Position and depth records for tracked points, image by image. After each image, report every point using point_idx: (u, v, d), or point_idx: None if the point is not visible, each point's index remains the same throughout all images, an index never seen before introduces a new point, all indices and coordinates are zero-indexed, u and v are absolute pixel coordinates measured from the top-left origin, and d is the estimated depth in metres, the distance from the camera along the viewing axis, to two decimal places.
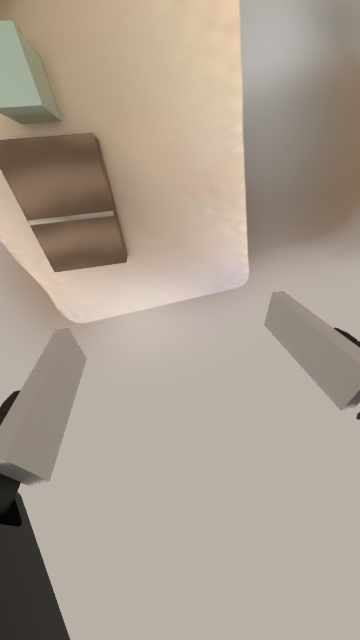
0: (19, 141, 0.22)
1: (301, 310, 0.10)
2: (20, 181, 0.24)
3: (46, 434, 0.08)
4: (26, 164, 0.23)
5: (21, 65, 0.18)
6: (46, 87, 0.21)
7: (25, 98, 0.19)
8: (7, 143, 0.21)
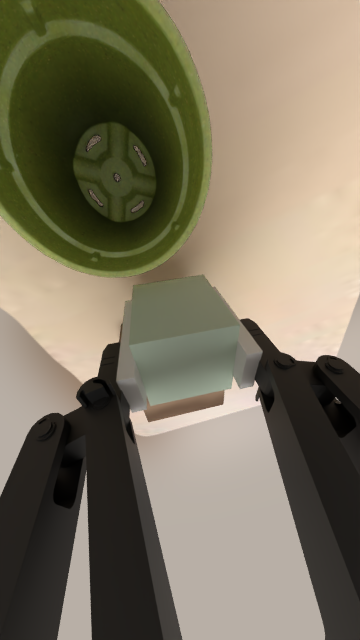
0: None
1: None
2: None
3: None
4: None
5: (224, 362, 0.10)
6: None
7: (209, 388, 0.11)
8: None
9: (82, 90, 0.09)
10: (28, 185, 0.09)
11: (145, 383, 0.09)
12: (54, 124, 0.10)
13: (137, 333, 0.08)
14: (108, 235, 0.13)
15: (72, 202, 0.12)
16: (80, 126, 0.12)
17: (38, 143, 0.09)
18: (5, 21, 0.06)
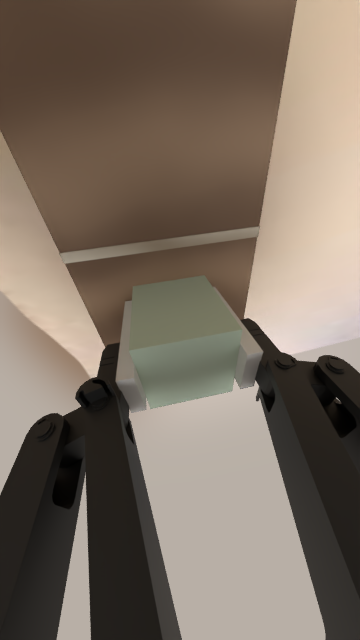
0: None
1: None
2: (47, 144, 0.08)
3: None
4: (69, 84, 0.07)
5: (225, 366, 0.09)
6: None
7: (210, 391, 0.11)
8: None
9: None
10: None
11: (145, 387, 0.09)
12: None
13: (137, 337, 0.08)
14: None
15: None
16: None
17: None
18: None
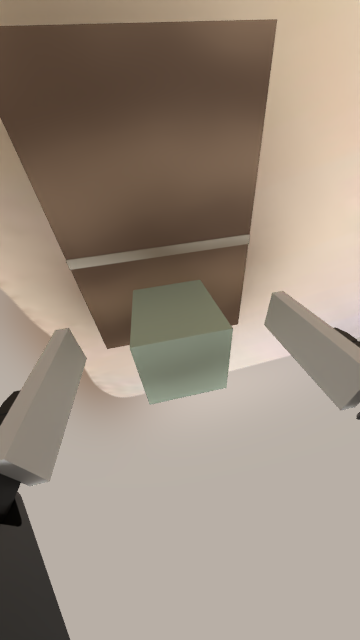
0: (65, 35, 0.07)
1: (301, 310, 0.10)
2: (58, 165, 0.09)
3: (46, 434, 0.08)
4: (78, 115, 0.08)
5: (218, 363, 0.10)
6: None
7: (205, 387, 0.11)
8: (28, 41, 0.07)
9: None
10: None
11: (145, 383, 0.10)
12: None
13: (137, 336, 0.09)
14: None
15: None
16: None
17: None
18: None
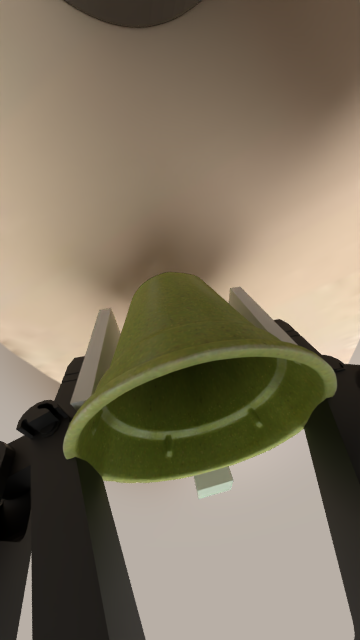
0: None
1: (250, 303, 0.11)
2: None
3: None
4: None
5: (227, 486, 0.26)
6: None
7: (221, 491, 0.27)
8: None
9: None
10: (111, 409, 0.08)
11: (199, 495, 0.26)
12: (129, 315, 0.09)
13: (198, 483, 0.25)
14: (168, 386, 0.12)
15: None
16: None
17: None
18: (135, 362, 0.05)
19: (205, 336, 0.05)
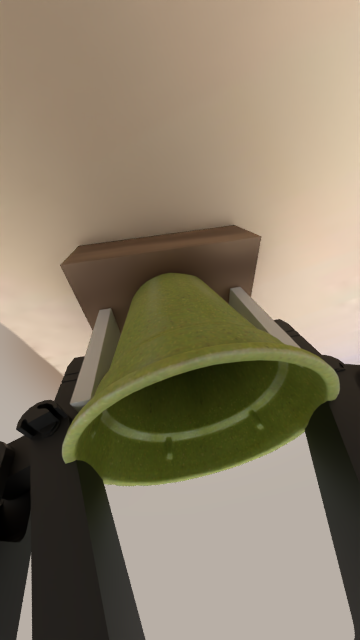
0: (124, 260, 0.11)
1: (250, 303, 0.11)
2: None
3: None
4: (127, 291, 0.12)
5: None
6: None
7: None
8: (100, 265, 0.11)
9: None
10: (111, 412, 0.08)
11: None
12: (129, 316, 0.09)
13: None
14: (168, 388, 0.12)
15: None
16: None
17: None
18: (135, 365, 0.05)
19: (207, 339, 0.05)
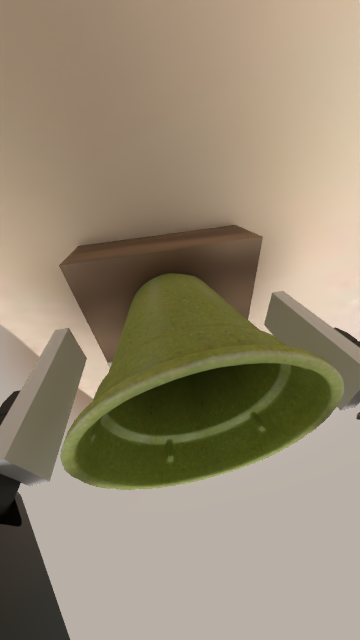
0: (124, 260, 0.11)
1: (301, 310, 0.10)
2: (109, 316, 0.13)
3: (46, 434, 0.08)
4: (127, 292, 0.12)
5: None
6: None
7: None
8: (100, 265, 0.10)
9: None
10: (111, 414, 0.08)
11: None
12: (129, 317, 0.09)
13: None
14: (169, 389, 0.12)
15: None
16: None
17: None
18: (136, 368, 0.05)
19: (209, 341, 0.05)
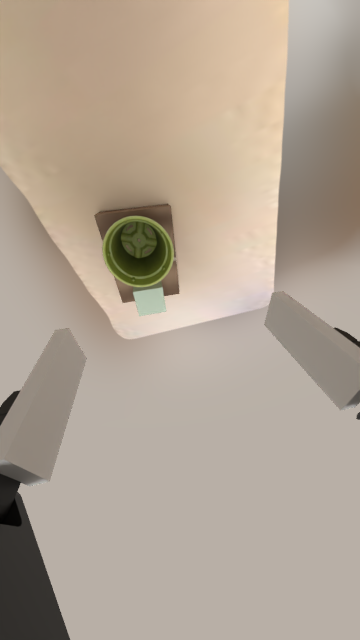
0: (117, 214, 0.29)
1: (301, 310, 0.10)
2: None
3: (46, 434, 0.08)
4: None
5: (161, 300, 0.32)
6: None
7: (158, 310, 0.33)
8: (108, 215, 0.29)
9: None
10: (113, 256, 0.26)
11: (137, 306, 0.32)
12: (119, 230, 0.27)
13: (135, 289, 0.31)
14: (136, 267, 0.30)
15: (121, 254, 0.29)
16: (126, 224, 0.29)
17: (114, 239, 0.27)
18: (118, 225, 0.23)
19: (133, 218, 0.23)
